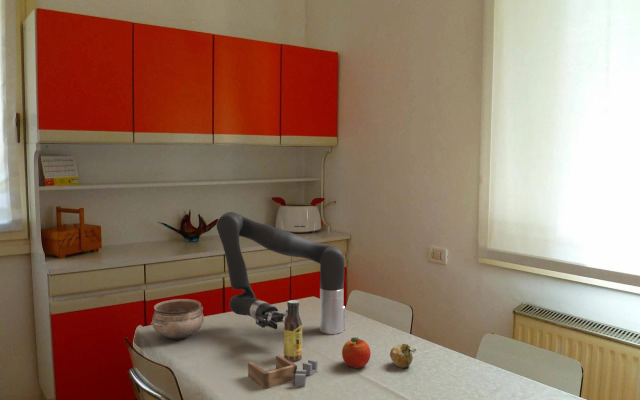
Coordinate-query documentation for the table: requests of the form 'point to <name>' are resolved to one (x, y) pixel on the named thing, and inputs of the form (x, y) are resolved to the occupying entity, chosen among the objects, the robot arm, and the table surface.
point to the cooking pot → (177, 318)
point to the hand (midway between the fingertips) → (287, 324)
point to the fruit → (356, 353)
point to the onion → (402, 355)
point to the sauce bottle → (293, 332)
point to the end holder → (273, 373)
